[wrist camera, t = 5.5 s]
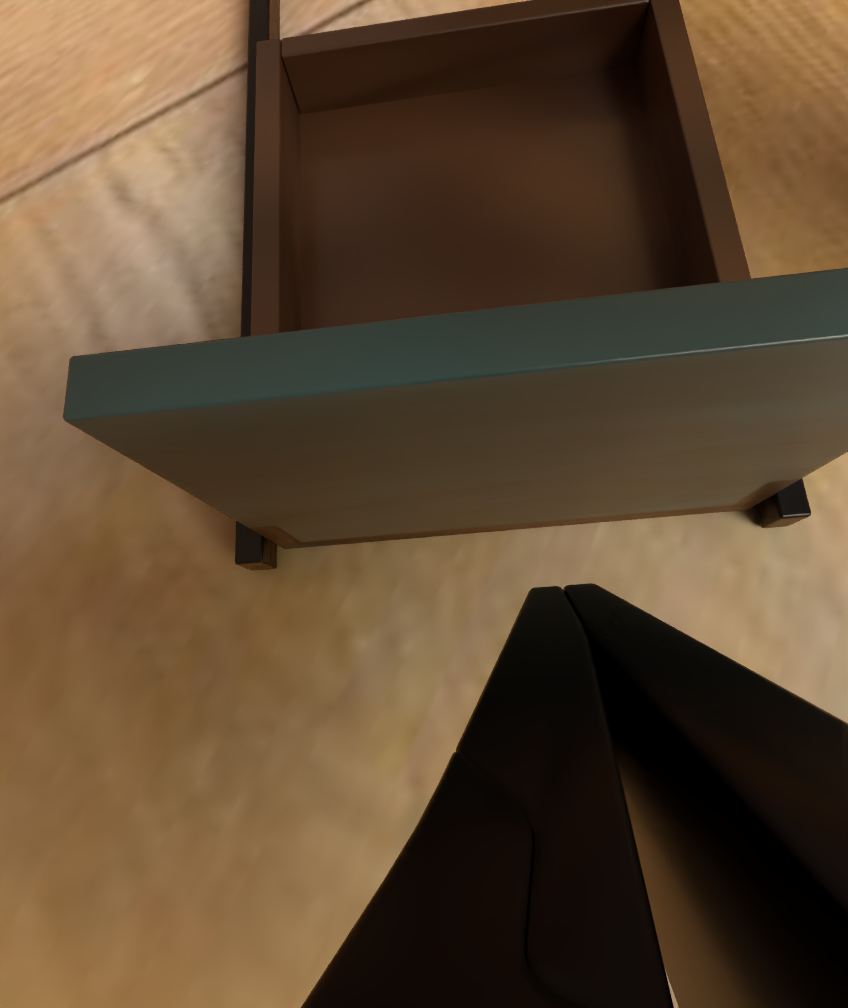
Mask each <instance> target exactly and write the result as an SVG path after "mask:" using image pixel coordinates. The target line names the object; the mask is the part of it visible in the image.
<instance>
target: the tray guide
mask: <svg viewBox="0 0 848 1008" xmlns="http://www.w3.org/2000/svg"><path fill="white" fill-rule="evenodd" d="M279 36H280V0H249V35H248V75H247V114H246V154H245V193H244V232H243V272H242V311H241V337H247V336H251V301H252V251H253V201H254V151H255V101H256V51H257V42H260V41H266V40H273V39H279ZM755 506H756V511H757V515H758V519H759V524H760V526H761V527H763V528H770V527H782V526H789V525H791V524H793V523H795V522H798V521H800V520H802V519H804V518H807V517H809V516H810V515H811V510H810V507H809V503H808V499H807V495H806V491H805V487H804V483H803V480H802V478H801V479H800V480H798V481H796V482H794V483H793V484H791V485H789V486H788V487H786V488H784V489H782V490H781V491H779V492H777V493H775V494H774V495H772V496H770V497H769V498H767V499H765V500H763V501H762V502H760V503H758V504H757V505H755ZM235 563H236V564H237V565H240V566H242V567H245V568H247V569H250V570H264V569H275V568H276V567H277V544H275V543H274V542H272V541H270V540H269V539H267V538H265V537H263V536H262V535H260V534H258V533H257V532H255V531H253V530H251V529H250V528H248V527H246V526H245V525H243V524H241V523H240V522H238V521H236V547H235Z"/></svg>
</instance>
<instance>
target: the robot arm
mask: <svg viewBox="0 0 848 1008" xmlns="http://www.w3.org/2000/svg"><path fill="white" fill-rule="evenodd" d="M664 967H665V968H664ZM665 970H666V972H665ZM666 973H667V976H668V978H669V981H670V984H671V987H672V989H673V992H674V995H675V998H676V1000H677V1003H678V1006H679V1008H848V723H846V722H844V721H842V720H841V719H839V718H837V717H835V716H833V715H832V714H830V713H828V712H826V711H824V710H823V709H821V708H819V707H817V706H815V705H813V704H812V703H810V702H808V701H806V700H804V699H803V698H801V697H799V696H797V695H795V694H794V693H792V692H790V691H788V690H786V689H784V688H783V687H781V686H779V685H777V684H775V683H774V682H772V681H770V680H768V679H766V678H765V677H763V676H761V675H759V674H757V673H755V672H754V671H752V670H750V669H748V668H746V667H745V666H743V665H741V664H739V663H737V662H736V661H734V660H732V659H730V658H728V657H726V656H725V655H723V654H721V653H719V652H717V651H716V650H714V649H712V648H710V647H708V646H706V645H705V644H703V643H701V642H699V641H697V640H696V639H694V638H692V637H690V636H688V635H687V634H685V633H683V632H681V631H679V630H677V629H676V628H674V627H672V626H670V625H668V624H667V623H665V622H663V621H661V620H659V619H658V618H656V617H654V616H652V615H650V614H648V613H647V612H645V611H643V610H641V609H639V608H638V607H636V606H634V605H632V604H630V603H629V602H627V601H625V600H623V599H621V598H619V597H618V596H616V595H614V594H612V593H610V592H609V591H607V590H605V589H603V588H601V587H600V586H598V585H595V584H578V585H568V586H566V587H564V589H562V588H561V587H559V586H552V587H539V588H532V589H531V590H530V591H529V593H528V595H527V597H526V599H525V601H524V604H523V606H522V608H521V610H520V612H519V614H518V616H517V619H516V621H515V623H514V625H513V627H512V629H511V632H510V634H509V636H508V638H507V640H506V642H505V644H504V647H503V649H502V651H501V653H500V655H499V657H498V660H497V662H496V664H495V666H494V668H493V670H492V672H491V675H490V677H489V679H488V681H487V683H486V685H485V687H484V690H483V692H482V694H481V696H480V698H479V700H478V703H477V705H476V707H475V709H474V711H473V713H472V715H471V718H470V720H469V722H468V724H467V726H466V728H465V731H464V733H463V735H462V737H461V739H460V741H459V743H458V746H457V748H456V752H454V753H453V754H452V756H451V758H450V761H449V763H448V765H447V767H446V769H445V771H444V773H443V776H442V778H441V780H440V782H439V784H438V786H437V788H436V790H435V792H434V794H433V795H432V797H431V799H430V801H429V803H428V805H427V807H426V809H425V811H424V813H423V815H422V817H421V819H420V821H419V822H418V824H417V826H416V828H415V830H414V831H413V833H412V835H411V836H410V838H409V840H408V841H407V843H406V845H405V846H404V848H403V849H402V851H401V853H400V854H399V856H398V858H397V859H396V861H395V863H394V864H393V866H392V867H391V869H390V871H389V872H388V874H387V876H386V877H385V879H384V881H383V882H382V884H381V885H380V887H379V888H378V890H377V891H376V893H375V895H374V896H373V898H372V899H371V901H370V902H369V904H368V905H367V907H366V908H365V910H364V911H363V913H362V914H361V916H360V918H359V919H358V921H357V922H356V924H355V925H354V927H353V928H352V930H351V931H350V933H349V934H348V936H347V938H346V939H345V941H344V942H343V944H342V945H341V947H340V948H339V950H338V951H337V953H336V954H335V956H334V958H333V959H332V961H331V962H330V964H329V965H328V967H327V968H326V970H325V971H324V973H323V974H322V976H321V978H320V979H319V981H318V982H317V984H316V985H315V987H314V988H313V990H312V991H311V993H310V994H309V996H308V997H307V999H306V1001H305V1002H304V1004H303V1005H302V1007H301V1008H674V1007H673V1003H672V998H671V994H670V989H669V985H668V981H667V976H666Z"/></svg>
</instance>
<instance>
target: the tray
mask: <svg viewBox="0 0 848 1008" xmlns="http://www.w3.org/2000/svg"><path fill="white" fill-rule="evenodd" d="M63 418H64V420H65V421H66V422H68V423H69V424H71V425H73V426H75V427H76V428H78V429H80V430H81V431H83V432H85V433H87V434H88V435H90V436H92V437H94V438H95V439H97V440H99V441H100V442H102V443H104V444H106V445H107V446H109V447H111V448H112V449H114V450H116V451H118V452H119V453H121V454H123V455H124V456H126V457H128V458H130V459H131V460H133V461H135V462H136V463H138V464H140V465H142V466H143V467H145V468H147V469H148V470H150V471H152V472H154V473H155V474H157V475H159V476H160V477H162V478H164V479H166V480H167V481H169V482H171V483H173V484H174V485H176V486H178V487H179V488H181V489H183V490H185V491H186V492H188V493H190V494H191V495H193V496H195V497H197V498H198V499H200V500H202V501H203V502H205V503H207V504H209V505H210V506H212V507H214V508H215V509H217V510H219V511H221V512H222V513H224V514H226V515H227V516H229V517H231V518H233V519H234V520H236V521H238V522H240V523H241V524H243V525H245V526H246V527H248V528H250V529H251V530H253V531H255V532H257V533H258V534H260V535H262V536H263V537H265V538H267V539H269V540H270V541H272V542H274V543H275V544H277V545H279V546H281V547H282V548H284V549H291V548H303V547H314V546H326V545H338V544H350V543H361V542H373V541H385V540H397V539H408V538H420V537H432V536H444V535H455V534H467V533H479V532H491V531H502V530H514V529H526V528H538V527H549V526H561V525H573V524H585V523H596V522H608V521H620V520H632V519H643V518H655V517H667V516H679V515H690V514H702V513H714V512H726V511H737V510H748V509H750V508H751V507H753V506H755V505H757V504H758V503H760V502H762V501H763V500H765V499H767V498H769V497H770V496H772V495H774V494H775V493H777V492H779V491H781V490H782V489H784V488H786V487H788V486H789V485H791V484H793V483H794V482H796V481H798V480H800V479H801V478H803V477H805V476H806V475H808V474H810V473H812V472H813V471H815V470H817V469H819V468H820V467H822V466H824V465H825V464H827V463H829V462H831V461H832V460H834V459H836V458H838V457H839V456H841V455H843V454H844V453H846V452H848V268H842V269H833V270H824V271H815V272H807V273H798V274H789V275H780V276H772V277H763V278H754V279H751V277H750V273H749V269H748V265H747V261H746V257H745V253H744V250H743V246H742V242H741V238H740V234H739V230H738V226H737V223H736V219H735V215H734V211H733V207H732V203H731V199H730V196H729V192H728V188H727V184H726V180H725V176H724V172H723V169H722V165H721V161H720V157H719V153H718V149H717V146H716V142H715V138H714V134H713V130H712V126H711V122H710V119H709V115H708V111H707V107H706V103H705V99H704V95H703V92H702V88H701V84H700V80H699V76H698V72H697V68H696V65H695V61H694V57H693V53H692V49H691V45H690V41H689V38H688V34H687V30H686V26H685V22H684V18H683V14H682V11H681V7H680V3H679V0H530V1H523V2H517V3H510V4H504V5H497V6H491V7H484V8H478V9H471V10H465V11H458V12H452V13H445V14H439V15H432V16H426V17H419V18H413V19H406V20H400V21H393V22H387V23H380V24H374V25H367V26H361V27H354V28H348V29H341V30H335V31H328V32H322V33H315V34H309V35H302V36H296V37H290V38H283V39H282V40H280V39H273V40H266V41H260V42H257V51H256V101H255V151H254V201H253V251H252V301H251V336H247V337H238V338H229V339H221V340H212V341H203V342H194V343H186V344H177V345H168V346H159V347H151V348H142V349H133V350H125V351H116V352H107V353H98V354H90V355H81V356H73V357H71V358H70V362H69V370H68V379H67V387H66V396H65V404H64V413H63Z"/></svg>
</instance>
